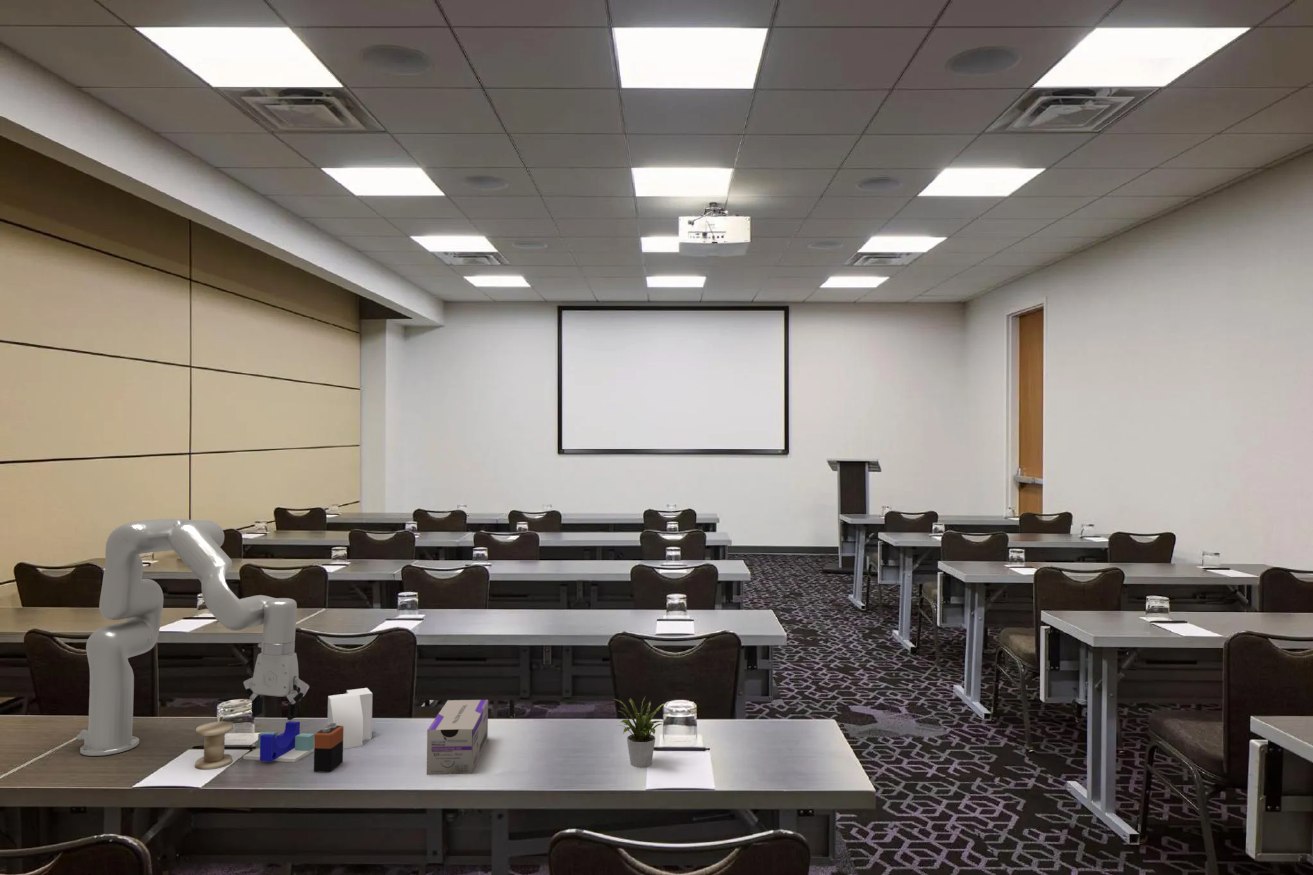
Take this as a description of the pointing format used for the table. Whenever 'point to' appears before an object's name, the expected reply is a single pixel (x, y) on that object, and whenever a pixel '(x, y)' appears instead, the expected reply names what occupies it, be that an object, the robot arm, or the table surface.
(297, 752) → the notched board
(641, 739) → the house plant
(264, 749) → the blue cradle bracket
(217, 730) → the bobbin
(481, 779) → the table surface
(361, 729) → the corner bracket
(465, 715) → the surgical sutures box
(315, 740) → the battery
